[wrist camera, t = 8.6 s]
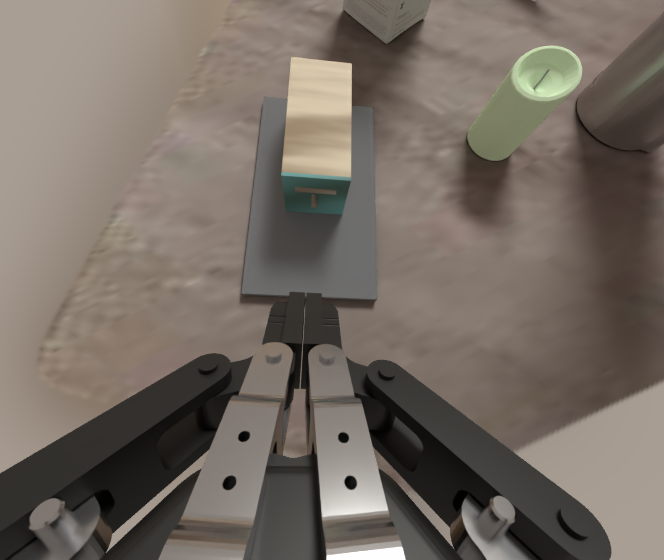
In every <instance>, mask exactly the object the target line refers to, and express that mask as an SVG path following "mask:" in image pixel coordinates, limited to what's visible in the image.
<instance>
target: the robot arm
mask: <svg viewBox="0 0 664 560" xmlns="http://www.w3.org/2000/svg"><path fill="white" fill-rule="evenodd" d="M577 111H578V115H579V117H580V120H581V121H582V123H583V125H584V126H585V127H586V129H587V130H588V131H589V132H590V133H591V134H592V135H593V136H595V137H596V138H597V139H598V140H600V141H602V142H603V143H605V144H607V145H609V146H611V147H614V148H617V149H621V150H643V151H645V152H648V153H650V152H651V151H653V150H655V149H656V148H658V147H660V146H661V145H663V144H664V12H663V13H662V14H661V15H660V16H659V17H658V18H657V19H656V20H655V21H654V22H653V23H652V24H651V25H650V26H649V27H648V28H647V29H646V30H645V31H644V32H643V33H642V34H641V35H640V36H639V37H638V38H636V39H635V40H634V41H633V42H632V43H631V44H630V45H629V46H628V47H627V48H626V49H625V50H624V51H623V52H622V53H621V54H620V55H619V56H618V57H617V58H616V59H615V60H614V61H613V62H612V63H611V64H610V65H609V66H608V67H607V68H606V69H605V70H604V71H602V72H601V73H600V74H599V75H598V76H597V77H596V78H595V79H594V80H593V81H592V82H591V83H590V84H589V85H588V86H587V87H586V88H585V89H584V90H583V91H582V93H581V94H580V95H579V97H578V100H577ZM304 306H305V292H289V298H288V302H277V303H276V304H275V305H274V306H273V307H272V308H271V311H270V315H269V319H268V323H267V327H266V331H265V335H264V339H263V343H262V346H260V347H259V348H258V349H257V350H256V351H255V353H254V356H252V357H250V358H248V359H245V360H241V361H236V362H231V363H230V360H229V359H228V358H227V357H226V356H224V355H222V354H216V353H213V354H206V355H203V356H200V357H198V358H196V359H195V360H193V361H191V362H189V363H188V364H186V365H184V366H183V367H181V368H179V369H177V370H176V371H174V372H172V373H171V374H169V375H167V376H166V377H164V378H162V379H160V380H159V381H157V382H155V383H154V384H152V385H150V386H149V387H147V388H145V389H143V390H142V391H140V392H138V393H137V394H135V395H133V396H131V397H130V398H128V399H126V400H125V401H123V402H121V403H120V404H118V405H116V406H114V407H113V408H111V409H109V410H108V411H106V412H104V413H103V414H101V415H99V416H97V417H96V418H94V419H92V420H91V421H89V422H87V423H86V424H84V425H82V426H80V427H79V428H77V429H75V430H74V431H72V432H70V433H68V434H67V435H65V436H63V437H62V438H60V439H58V440H56V441H55V442H53V443H52V444H50V445H48V446H46V447H45V448H43V449H41V450H39V451H38V452H36V453H34V454H33V455H31V456H29V457H27V458H26V459H24V460H23V461H21V462H19V463H17V464H16V465H14V466H12V467H11V468H9V469H7V470H5V471H4V472H2V473H0V560H609V559H610V557H611V546H610V541H609V539H608V536H607V534H606V532H605V530H604V529H603V527H602V526H601V524H600V523H599V521H598V520H597V519H596V518H595V517H594V515H593V514H592V513H591V512H590V511H589V510H588V509H587V508H586V507H585V506H583V505H582V504H581V503H580V502H578V501H577V500H576V499H575V498H573V497H572V496H571V495H569V494H568V493H567V492H565V491H564V490H562V489H561V488H560V487H559V486H557V485H556V484H555V483H553V482H552V481H551V480H549V479H548V478H546V477H545V476H544V475H543V474H541V473H540V472H539V471H537V470H536V469H535V468H534V467H532V466H531V465H530V464H528V463H527V462H526V461H524V460H523V459H521V458H520V457H519V456H518V455H516V454H515V453H514V452H512V451H511V450H510V449H508V448H507V447H506V446H504V445H503V444H502V443H500V442H499V441H498V440H496V439H495V438H494V437H493V436H491V435H490V434H489V433H487V432H486V431H485V430H483V429H482V428H481V427H479V426H478V425H477V424H475V423H474V422H473V421H471V420H470V419H469V418H467V417H466V416H465V415H463V414H462V413H461V412H459V411H458V410H457V409H455V408H454V407H453V406H452V405H450V404H449V403H448V402H446V401H445V400H444V399H442V398H441V397H440V396H438V395H437V394H436V393H434V392H433V391H432V390H430V389H429V388H428V387H426V386H425V385H424V384H422V383H421V382H420V381H418V380H417V379H416V378H414V377H413V376H412V375H411V374H409V373H408V372H407V371H405V370H404V369H403V368H401V367H400V366H399V365H397V364H395V363H393V362H391V361H387V360H377V361H374V362H372V363H371V364H370V365H369V366H368V367H367V366H363V365H360V364H357V363H355V362H352V361H351V360H349V359H348V358H347V357H346V356H345V353H344V352H343V351H342V345H341V336H340V326H339V317H338V311H337V309H336V308H335V307H334V306H333V304H322V293H307V294H306V310H305V326H304V342H303V360H302V378H301V389H306V398H305V422H306V445H307V455H306V456H302V457H298V458H289V457H286V456H283V450H284V444H285V439H286V433H287V427H288V422H289V416H290V411H291V402H292V400H293V394H294V389H299V384H300V369H301V355H302V340H303V324H304ZM373 447H374V448H375V449H376V450H377V451H378V452H379V453H380V454H381V455H382V456H383V457H384V459H385V460H386V461H387V462H388V463H389V464H390V465H391V466H392V467H393V468H394V469H395V470H396V471H397V472H398V473H399V474H400V475H401V477H402V478H403V479H404V480H405V481H406V482H407V483H408V484H409V485H410V486H411V487H412V488H413V489H414V490H415V491H416V492H417V493H418V495H419V496H420V497H421V498H422V499H423V500H424V501H425V502H426V503H427V504H428V505H429V506H430V507H431V508H432V509H433V510H434V511H435V513H436V514H437V515H438V516H439V517H440V518H441V519H442V520H443V521H444V522H445V523H446V524H447V525H448V526H449V527H450V536H451V541H452V544H453V547H454V549H455V550H454V549H453V547H452V546H451V545H450V544H449V543H448V542H447V541H446V540H445V538H444V537H443V536H442V535H441V534H440V532H439V531H438V530H437V529H436V528H435V527H434V525H433V524H432V523H431V522H430V521H429V520H428V519H427V517H426V516H425V515H424V514H423V513H422V512H421V511H420V509H419V508H418V507H417V506H416V505H415V503H414V502H413V501H412V500H411V499H410V498H409V497H408V495H407V494H406V493H405V492H404V491H403V490H402V488H401V487H400V486H399V485H398V484H397V483H396V482H395V481H394V480H393V479H392V478H391V477H390V476H389V475H387V474H386V473H385V472H383V471H382V470H380V469H379V468H378V466H377V462H376V458H375V454H374V450H373ZM208 450H209V452H208V454H207V457H206V459H205V462H204V464H203V467H202V469H200V470H198V471H197V472H195V473H194V474H192V475H190V476H189V477H188V478H187V479H186V480H184V481H183V482H181V483H180V484H179V485H178V486H177V487H176V488H175V489H174V490H173V491H172V492H171V493H169V495H167V496H166V497H165V498H164V499H163V500H162V501H161V502H160V503H159V504H158V505H157V506H156V507H155V508H154V509H153V510H152V511H150V512H149V513H148V514H147V515H146V516H145V517H144V518H143V519H142V520H141V521H140V522H139V523H138V524H137V525H136V526H134V527H133V528H132V529H131V530H130V531H129V532H128V533H127V534H126V535H125V536H124V537H123V538H122V539H121V540H120V541H118V542H117V544H115V545H114V546H113V547H112V548H111V549H110V550H109V551H108V552H107V553H106V551H107V550H108V548H109V544H110V542H111V538H112V534H113V533H114V532H115V531H116V530H117V529H118V528H119V527H120V526H122V525H123V524H124V523H125V522H126V521H127V520H129V519H130V518H131V517H132V516H133V515H134V514H135V513H137V512H138V511H139V510H140V509H141V508H142V507H143V506H145V505H146V504H147V503H148V502H149V501H150V500H151V499H153V498H154V497H155V496H156V495H157V494H158V493H160V492H161V491H162V490H163V489H164V488H165V487H166V486H168V485H169V484H170V483H171V482H172V481H173V480H174V479H176V478H177V477H178V476H179V475H180V474H181V473H182V472H184V471H185V470H186V469H187V468H188V467H189V466H191V465H192V464H193V463H194V462H195V461H196V460H197V459H199V458H200V457H201V456H202V455H203V454H204V453H205V452H207V451H208Z"/></svg>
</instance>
